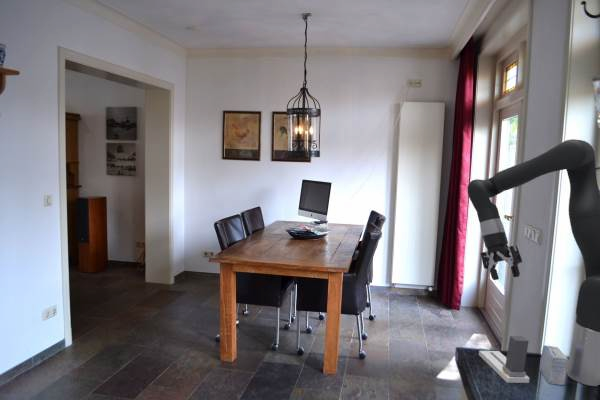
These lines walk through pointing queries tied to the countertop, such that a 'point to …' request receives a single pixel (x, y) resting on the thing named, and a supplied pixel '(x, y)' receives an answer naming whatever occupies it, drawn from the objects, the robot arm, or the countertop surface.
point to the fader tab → (516, 356)
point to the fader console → (498, 362)
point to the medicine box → (553, 365)
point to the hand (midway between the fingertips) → (506, 278)
